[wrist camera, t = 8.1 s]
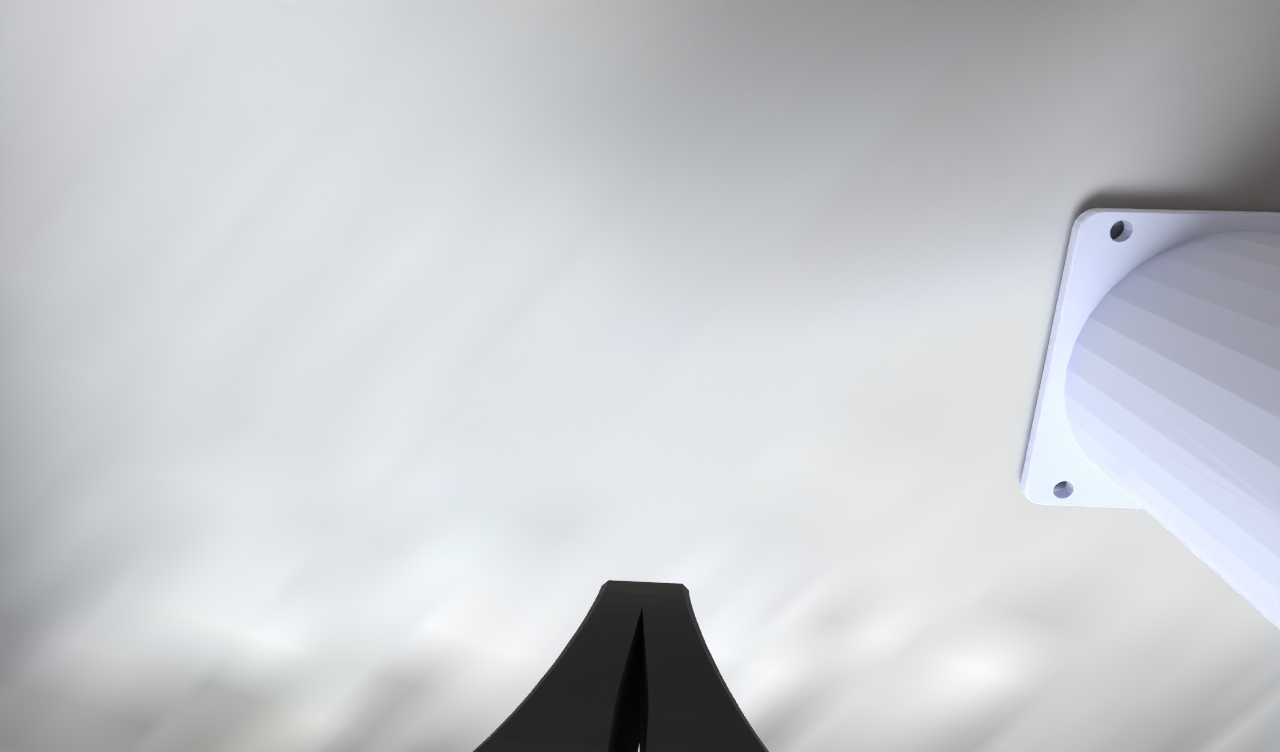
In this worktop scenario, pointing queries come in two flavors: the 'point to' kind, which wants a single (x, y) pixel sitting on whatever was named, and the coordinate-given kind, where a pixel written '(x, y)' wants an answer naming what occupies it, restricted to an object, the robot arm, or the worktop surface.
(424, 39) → the worktop surface
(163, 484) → the worktop surface
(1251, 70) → the worktop surface
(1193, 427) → the robot arm
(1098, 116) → the worktop surface
